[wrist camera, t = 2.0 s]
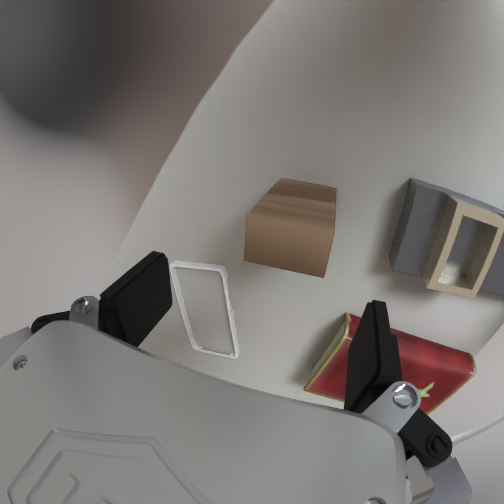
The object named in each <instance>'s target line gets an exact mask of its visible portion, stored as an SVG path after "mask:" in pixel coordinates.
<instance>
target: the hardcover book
mask: <svg viewBox="0 0 504 504" xmlns="http://www.w3.org/2000/svg"><path fill="white" fill-rule="evenodd" d="M344 316H345V321H344V322H343V324H342V325H341V327H340V329H339V330H338V332H337V333H336V335H335V336H334V338H333V339H332V341H331V342H330V344H329V345H328V347H327V348H326V350H325V351H324V353H323V354H322V356H321V357H320V358H319V360H318V361H317V363H316V364H315V366H314V367H313V368H312V370H311V374H310V379H309V382H308V383H307V385H306V386H305V387H304V391H307V392H311V393H314V394H318V395H321V396H325V397H328V398H332V399H335V400H339V401H343V402H345V391H346V378H347V361H348V349H349V346H350V343H351V341H352V339H353V337H354V334H355V332H356V330H357V327H358V325H359V323H360V320H361V318H360V317H357V316H355V315H352V314H349V313H345V315H344ZM390 330H391V334H395V335H396V336H397V341H398V348H399V355H400V362H401V370H402V379H403V381H405V382H409V383H411V384H412V385H414V386H415V387H416V388H417V389H418V391H419V393H420V395H421V404H420V406H419V408H420V409H421V410H422V411H423V412H424V413H425V414H427V415H428V414H429V413H431V412H432V411H433V410H435V409H436V408H437V407H438V406H440V405H441V404H442V403H443V402H445V401H446V400H447V399H448V398H449V397H451V396H452V395H453V394H454V393H455V392H456V391H458V390H459V389H460V388H461V387H462V386H463V385H464V384H465V383H466V382H467V381H468V380H470V378H472V377H473V376H474V375H475V373H476V366H475V362H474V359H473V356H472V355H471V354H470V353H466V352H463V351H460V350H457V349H454V348H450V347H447V346H444V345H441V344H438V343H435V342H432V341H429V340H426V339H422V338H419V337H416V336H413V335H410V334H407V333H404V332H401V331H398V330H395V329H392V328H390Z"/></svg>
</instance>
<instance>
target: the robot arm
mask: <svg viewBox="0 0 504 504" xmlns="http://www.w3.org/2000/svg"><path fill="white" fill-rule="evenodd" d="M100 297H101V299H100V300H99V301H98V299H97V298H95V297H93V296H84V297H81V298H79V299H77V300H76V301H74V303H73V304H72V306H71V310H70V311H66V312H60V313H55V314H49V315H44V316H41V317H39V318H37V319H36V320H35V321H34V322H33V324H32V326H31V329H30V328H29V326H28V327H26V328H23V329H21V330H19V331H16V332H14V333H12V334H9V335H7V336H5V337H3V338H1V339H0V504H404V499H405V488H406V478H407V479H409V481H410V483H411V486H409V487H410V489H411V491H412V495H413V498H412V502H411V504H469V502H470V500H471V498H472V489H471V487H470V484H469V482H468V480H467V478H466V476H465V474H464V472H463V471H462V469H461V467H460V465H459V463H458V461H457V459H456V457H455V458H452V456H451V455H450V454H451V452H452V441H451V439H450V437H449V436H448V434H446V432H444V431H443V430H442V429H441V428H440V427H439V426H438V425H437V424H436V423H435V422H434V421H433V420H432V419H431V418H430V417H429V416H428V415H427V414H425V413H424V412H423V411H422V410H421V409H420V408H419V406H420V404H421V395H420V393H419V391H418V389H417V388H416V387H415V386H414V385H412V384H411V383H409V382H405V381H403V379H402V370H401V362H400V355H399V348H398V341H397V336H396V335H395V334H391V330H390V324H389V318H388V312H387V306H386V303H385V302H382V301H377V300H373V301H372V302H371V303H370V302H368V303H367V305H366V308H365V310H364V313H363V315H362V318H361V320H360V323H359V325H358V327H357V330H356V332H355V334H354V337H353V339H352V341H351V343H350V346H349V349H348V361H347V378H346V391H345V402H344V410H343V409H338V408H334V407H329V406H324V405H319V404H314V403H309V402H305V401H300V400H296V399H291V398H287V397H283V396H279V395H274V394H270V393H267V392H263V391H259V390H255V389H252V388H248V387H245V386H241V385H238V384H235V383H231V382H228V381H225V380H222V379H218V378H215V377H212V376H209V375H206V374H204V373H201V372H198V371H195V370H192V369H189V368H187V367H184V366H181V365H179V364H176V363H174V362H171V361H168V360H166V359H163V358H161V357H158V356H156V355H154V354H151V353H149V352H146V351H144V350H142V349H140V348H137V347H138V346H139V345H140V344H141V342H142V341H143V340H144V339H145V338H146V336H147V335H148V334H149V333H150V332H151V330H152V329H153V328H154V327H155V326H156V324H157V323H158V322H159V321H160V320H161V318H162V317H163V316H164V315H165V314H166V312H167V311H168V310H169V309H170V308H171V306H172V293H171V285H170V275H169V265H168V258H167V257H166V256H165V254H164V253H160V252H156V251H153V252H151V253H150V254H148V255H147V256H146V257H145V258H143V259H142V260H141V261H140V262H138V263H137V264H136V265H135V266H134V267H132V268H131V269H130V270H129V271H127V272H126V273H125V274H124V275H123V276H121V277H120V278H119V279H118V280H117V281H115V282H114V283H113V284H112V285H111V286H110V287H108V288H107V289H106V290H105V291H104V292H103V293H101V294H100ZM366 500H367V501H366Z"/></svg>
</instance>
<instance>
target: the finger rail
mask: <svg viewBox="0 0 504 504" xmlns="http://www.w3.org/2000/svg"><path fill="white" fill-rule="evenodd" d="M389 260H390V263H391V267H392V270H393V271H397V272H402V273H406V274H411V275H415V276H420V277H422V278H423V280H424V282H425V285H426V288H428V289H432V290H437V291H442V292H446V293H451V294H456V295H460V296H465V297H470V298H475V296H476V294H477V292H478V290H481V291H485V292H489V293H494V294H498V295H502V296H504V211H503V210H500V209H498V208H496V207H493V206H491V205H488V204H486V203H483V202H481V201H478V200H476V199H473V198H470V197H468V196H465V195H462V194H459V193H457V192H454V191H451V190H448V189H445V188H442V187H439V186H436V185H433V184H429V183H426V182H423V181H419V180H416V179H413V178H410V182H409V187H408V191H407V195H406V199H405V203H404V207H403V211H402V215H401V219H400V222H399V226H398V229H397V233H396V236H395V239H394V243H393V246H392V249H391V252H390V255H389Z"/></svg>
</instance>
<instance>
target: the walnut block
mask: <svg viewBox="0 0 504 504" xmlns="http://www.w3.org/2000/svg"><path fill="white" fill-rule="evenodd" d="M335 215H336V188H332V187H327V186H322V185H317V184H311V183H306V182H300V181H294V180H288V179H282V178H281V179H280V181H279V182H278V183H277V184H276V185H275V186H274V187H273V188H272V189H271V190H270V191H269V192H268V193H267V194H266V195H265V196H264V198H263V199H262V200H261V201H260V202H259V203H258V204H257V205H256V206H255V207H254V208H253V209H252V210H251V211H250V213H249V214H248V215H247V220H246V236H245V251H244V261H248V262H252V263H257V264H261V265H266V266H270V267H275V268H280V269H284V270H289V271H293V272H298V273H303V274H307V275H312V276H317V277H321V278H324V276H325V272H326V268H327V264H328V260H329V255H330V251H331V247H332V242H333V238H334V233H335Z"/></svg>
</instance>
